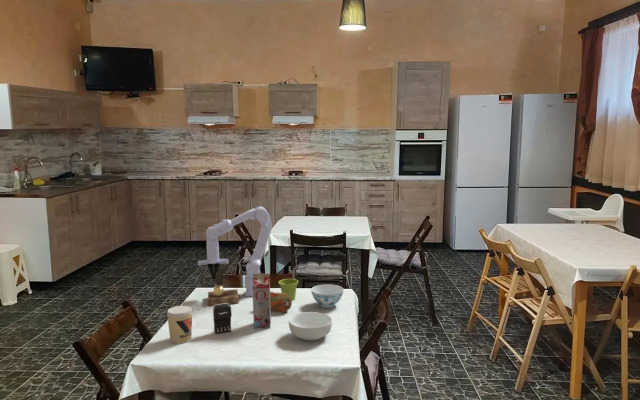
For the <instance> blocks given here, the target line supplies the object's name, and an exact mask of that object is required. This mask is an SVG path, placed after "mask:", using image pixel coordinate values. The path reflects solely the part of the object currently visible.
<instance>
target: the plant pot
mask: <svg viewBox="0 0 640 400" xmlns="http://www.w3.org/2000/svg"><path fill="white" fill-rule="evenodd" d="M298 283H299V280H298V279H296V278H283V279H281V280H279V281H278V284H279V287H280V291H281V292H280V293H286V294H288V295H289V296H290V298H291V300H292V301H293V300H295V299H296V296H297V295H296V293H297V286H298Z"/></svg>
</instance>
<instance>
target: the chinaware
mask: <svg viewBox="0 0 640 400" xmlns="http://www.w3.org/2000/svg"><path fill="white" fill-rule="evenodd" d="M310 289H311V290H310V291H311V295H312V297H313V299H314V301H315V302H317V303H318V304H319V305H320V307H322V308H324V309H325V308H326V309H329V308H335V305H336V304H338V302H340V300H341V299H342V297H343V294H344V290H345V289H344V288H343V287H342V286H340V285H336V284H330V283H329V284H318V285H314V286H312V288H310Z"/></svg>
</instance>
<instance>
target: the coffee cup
mask: <svg viewBox="0 0 640 400" xmlns="http://www.w3.org/2000/svg"><path fill="white" fill-rule="evenodd" d="M166 315H167V323H168V331H169V333H168V334H169V338H170V342H171V343H172V344H176V345H179V344H181V345H182V344H185V343H188V342H189V341H191V340H192V337H193V336H192V335H193V334H192V332H193V330H192V328H193V308H192V306H188V305H175V306H173V307H170V308H168V309H167V312H166Z"/></svg>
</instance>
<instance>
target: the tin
mask: <svg viewBox="0 0 640 400" xmlns="http://www.w3.org/2000/svg"><path fill="white" fill-rule="evenodd" d="M292 305H293V300H291V298H290V296H289V295H288V294H286V293H282V292H277V291H270V308H271V312H278V313H286V312H288V310H290V309H291V308H292Z"/></svg>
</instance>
